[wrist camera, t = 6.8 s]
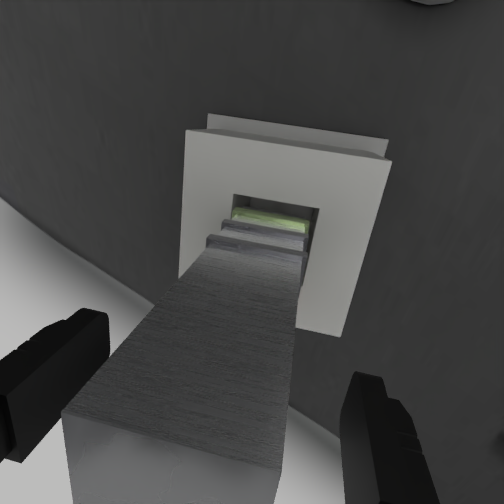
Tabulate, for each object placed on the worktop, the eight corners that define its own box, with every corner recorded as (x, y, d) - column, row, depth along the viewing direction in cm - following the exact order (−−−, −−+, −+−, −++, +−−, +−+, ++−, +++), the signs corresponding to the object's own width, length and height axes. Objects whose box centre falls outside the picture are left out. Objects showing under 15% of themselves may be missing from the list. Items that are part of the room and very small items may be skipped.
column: (240, 202, 20) (49, 401, 6) (309, 214, 20) (295, 468, 5) (233, 264, 22) (71, 541, 7) (296, 277, 21) (257, 601, 7)
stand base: (210, 113, 26) (163, 108, 18) (386, 139, 25) (422, 146, 16) (199, 267, 32) (158, 317, 23) (342, 296, 30) (352, 361, 22)
